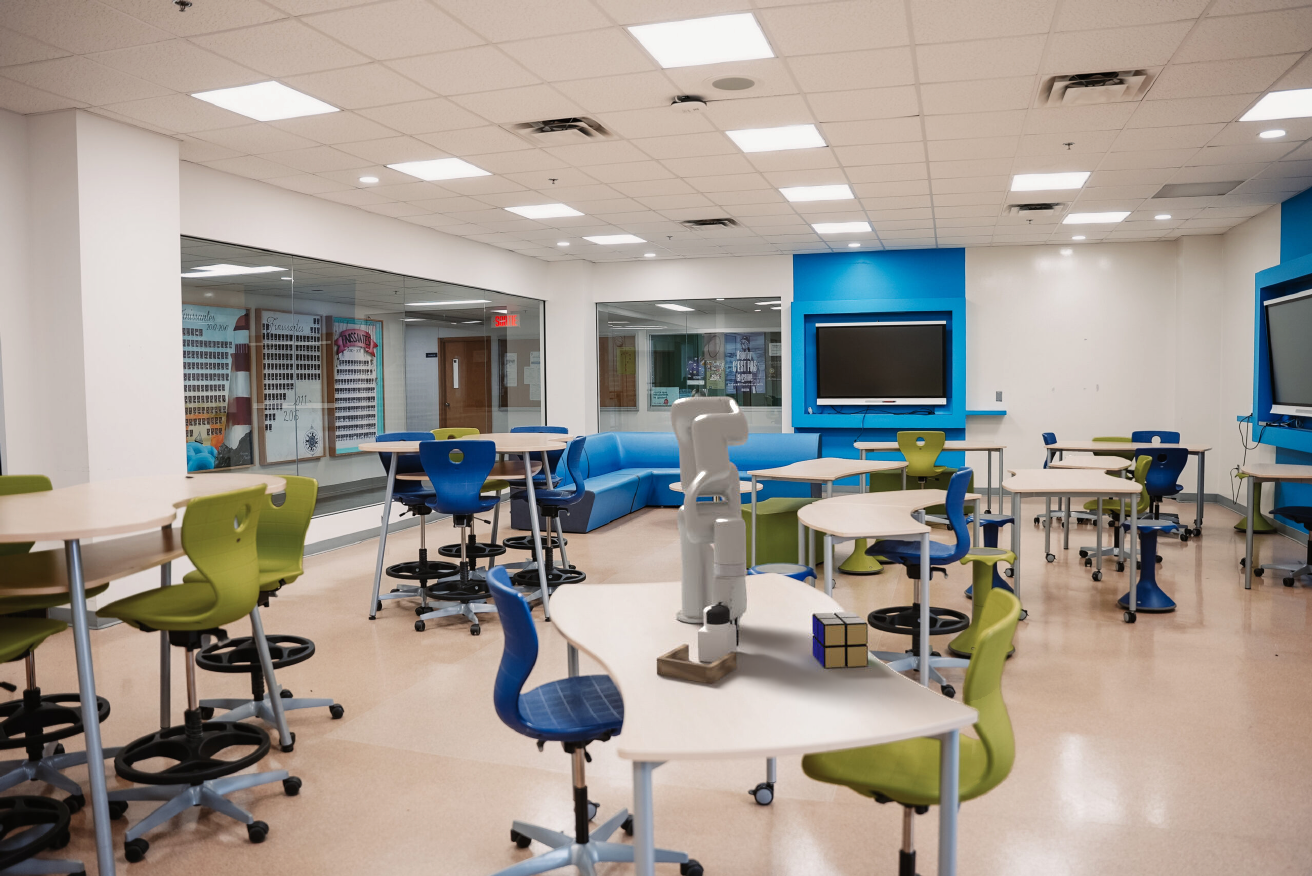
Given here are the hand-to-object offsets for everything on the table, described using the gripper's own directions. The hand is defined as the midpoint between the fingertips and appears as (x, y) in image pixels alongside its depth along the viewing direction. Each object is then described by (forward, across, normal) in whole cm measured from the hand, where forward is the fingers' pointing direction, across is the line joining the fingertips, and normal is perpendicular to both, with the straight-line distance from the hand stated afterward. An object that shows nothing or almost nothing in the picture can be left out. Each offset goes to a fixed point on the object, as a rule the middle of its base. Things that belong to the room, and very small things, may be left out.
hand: (731, 645), depth 206 cm
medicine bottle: (+1, +7, 0) cm, 7 cm away
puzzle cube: (+2, -5, +25) cm, 25 cm away
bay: (+1, +16, 0) cm, 16 cm away
